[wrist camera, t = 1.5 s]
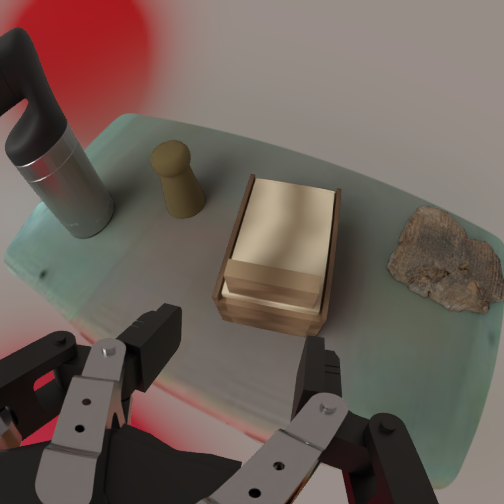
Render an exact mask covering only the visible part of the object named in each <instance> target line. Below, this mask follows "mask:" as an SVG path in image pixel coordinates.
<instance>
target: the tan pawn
mask: <svg viewBox="0 0 504 504" xmlns="http://www.w3.org/2000/svg"><path fill="white" fill-rule="evenodd" d="M190 159H191V155H190V151H189V149H188V147H187V146H186V145H185V144H183V143H182V142H180V141H177V140H171V141H166V142H164V143H162V144H160V145H158V146H157V147H156V148H155V149H154V151H153V153H152V155H151V165H152V168H153V170H154V171H155V172H156V173H157V174H158V175H159V176H160V179H161V184H162V188H163V193H164V198H165V202H166V206H167V210H168V212H169V213H170V214H171V215H172V216H173V217H176V218H181V219H184V218H190V217H192V216H194V215H196V214H197V213H199V212H200V211H201V209H202V208H203V207H204V204H205V196H204V194H203V192H202V190H201V188H200V186H199V184H198V182H197V180H196V178H195V175H194V173H193V171H192V169H191V167H190V165H189V164H190Z"/></svg>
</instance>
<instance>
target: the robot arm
mask: <svg viewBox="0 0 504 504" xmlns="http://www.w3.org/2000/svg"><path fill="white" fill-rule="evenodd" d="M25 98H26V99H27V100H28V102H29V103H28V105H27V108H26V110H25V112H24V113H23V115H22V116H21V118H20V119H19V121H18V122H17V124H16V125H15V126H14V128H13V129H12V130H11V132H10V134H9V136H8V138H7V140H6V143H5V151H6V154H7V156H8V157H9V159H10V160H11V162H12V163H13V164H14V166H15V167H16V168H17V170H18V171H19V172H20V174H21V175H22V176H23V177H24V179H25V180H26V181H27V182H28V184H29V185H30V186H31V187H32V189H33V190H34V191H35V192H36V194H37V195H38V196H39V197H40V199H41V200H42V201H43V202H44V203H45V205H46V206H47V207H48V208H49V209H50V211H51V212H52V213H53V214H54V215H55V216H56V217H57V219H58V220H59V221H60V222H61V223H62V224H63V226H64V227H65V228H66V229H67V230H68V231H69V232H70V233H71V234H72V235H73V236H74V237H76V238H88V237H91V236H93V235H95V234H96V233H98V232H99V231H101V230H102V229H103V228H104V227H105V226H106V224H107V223H108V222H109V220H110V219H111V216H112V214H113V210H114V202H113V199H112V198H111V196H110V195H109V193H108V191H107V190H106V188H105V186H104V185H103V183H102V181H101V180H100V178H99V176H98V174H97V173H96V171H95V169H94V168H93V166H92V164H91V163H90V161H89V159H88V157H87V156H86V154H85V152H84V150H83V149H82V147H81V145H80V143H79V141H78V140H77V138H76V136H75V134H74V132H73V131H72V129H71V127H70V125H69V123H68V122H67V119H66V117H65V116H64V114H63V112H62V110H61V108H60V106H59V105H58V103H57V101H56V99H55V97H54V95H53V92H52V90H51V88H50V86H49V84H48V81H47V79H46V76H45V74H44V71H43V68H42V66H41V63H40V60H39V57H38V54H37V52H36V49H35V47H34V44H33V42H32V40H31V38H30V36H29V35H28V33H27V32H26V31H25V30H24V29H22V28H19V27H17V28H14V29H12V30H10V31H9V32H7V33H5V34H4V35H2V36H1V37H0V116H2V115H3V114H4V113H5V112H7V111H8V110H9V109H11V108H12V107H13V106H15V105H16V104H17V103H19V102H20V101H22V100H23V99H25ZM181 326H182V309H181V307H178V306H174V305H170V304H166V303H164V304H163V305H162V306H161V307H160V308H159V309H158V310H157V311H156V312H155V311H150V312H147V313H145V314H143V315H141V316H140V317H139V318H138V319H137V320H136V321H135V322H134V323H133V324H132V325H131V326H129V327H128V328H127V329H126V330H125V331H124V332H123V333H121V334H120V335H119V336H118V337H117V338H116V339H112V338H106V339H101V340H99V341H97V342H95V343H94V344H93V346H92V347H90V346H84V345H77V344H76V339H75V336H74V335H73V334H72V333H70V332H67V331H56V332H53V333H50V334H48V335H47V336H45V337H43V338H41V339H39V340H37V341H35V342H33V343H31V344H29V345H27V346H26V347H24V348H22V349H20V350H18V351H16V352H14V353H12V354H11V355H9V356H7V357H5V358H3V359H1V360H0V504H292V503H293V502H294V500H295V499H296V498H297V496H298V495H299V493H300V492H301V491H302V489H303V488H304V486H305V485H306V484H307V482H308V481H309V479H310V478H311V477H312V475H313V474H314V472H315V471H316V469H317V468H318V467H319V465H320V464H321V462H322V463H325V464H327V465H330V466H333V467H335V468H338V469H341V470H342V474H343V479H344V483H345V488H346V493H347V498H348V502H349V504H439V503H438V501H437V499H436V496H435V493H434V491H433V488H432V486H431V483H430V481H429V479H428V476H427V474H426V472H425V469H424V467H423V464H422V462H421V460H420V458H419V455H418V453H417V451H416V448H415V446H414V444H413V442H412V440H411V437H410V435H409V433H408V431H407V429H406V426H405V424H404V423H403V421H402V420H401V419H400V418H398V417H397V416H395V415H392V414H389V413H378V414H376V415H374V416H372V417H371V419H370V420H369V419H366V418H363V417H360V416H358V415H355V414H353V413H352V412H350V411H349V410H348V406H347V403H346V402H345V401H344V400H343V399H342V389H341V375H340V361H339V358H338V356H337V355H336V353H335V352H334V351H330V350H325V344H324V338H322V337H316V336H311V335H307V337H306V341H305V345H304V349H303V352H302V356H301V360H300V364H299V368H298V372H297V378H296V386H295V393H294V401H293V408H292V415H291V421H290V424H289V425H288V426H287V427H286V428H285V429H284V430H282V429H279V430H277V431H276V432H275V433H274V434H273V435H272V436H271V437H270V438H269V440H268V441H267V442H266V443H265V444H264V445H263V446H262V447H261V448H260V449H259V450H258V451H257V452H256V453H255V454H254V455H253V456H252V457H251V458H250V459H249V460H248V461H247V462H246V463H245V464H244V465H243V466H242V467H241V465H242V462H240V461H236V460H232V459H227V458H224V457H220V456H216V455H213V454H205V453H194V452H186V451H179V450H175V449H173V448H172V447H170V446H169V445H167V444H165V443H163V442H162V441H160V440H159V439H157V438H156V437H154V436H153V435H151V434H150V433H147V432H144V431H142V430H139V429H137V428H135V427H132V426H130V418H131V409H132V401H133V397H132V393H133V392H134V390H135V389H136V390H139V391H141V392H144V393H145V392H146V390H147V389H148V388H149V386H150V385H151V384H152V382H153V381H154V380H155V378H156V377H157V376H158V374H159V373H160V372H161V370H162V369H163V368H164V366H165V365H166V364H167V362H168V361H169V360H170V358H171V357H172V356H173V354H174V353H175V352H176V350H177V349H178V347H179V345H180V341H181ZM52 370H53V374H54V377H55V379H53V380H52V381H50V382H49V383H47V384H45V385H44V386H42V387H41V388H39V389H37V390H36V391H34V388H33V386H34V383H35V381H36V380H37V379H38V378H40V377H42V376H43V375H45V374H46V373H48V372H50V371H52ZM59 414H60V415H59ZM58 415H59V418H58V422H57V425H56V428H55V432H54V435H53V438H52V440H50V441H45V442H40V443H36V444H31V445H26V446H21V447H19V446H20V445H21V442H22V441H23V440H24V439H26V438H27V437H28V436H30V435H31V434H33V433H34V432H35V431H37V430H38V429H40V428H41V427H42V426H44V425H45V424H47V423H48V422H49V421H51V420H52V419H53V418H55V417H56V416H58Z"/></svg>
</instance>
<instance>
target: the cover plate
mask: <svg viewBox="0 0 504 504" xmlns="http://www.w3.org/2000/svg"><path fill="white" fill-rule="evenodd" d="M334 192H335V191H331V190H325V189H320V188H314V187H309V186H303V185H297V184H291V183H285V182H279V181H272V180H265V179H259V178H256V181H255V184H254V187H253V190H252V194H251V197H250V200H249V203H248V207H247V210H246V213H245V216H244V220H243V223H242V226H241V229H240V233H239V236H238V239H237V243H236V246H235V249H234V253H233V256H232V259H228V262H227V266H226V269H225V272H224V278H225V283H224V286H223V290H222V295H223V297H227V298H232V299H236V300H241V301H246V302H250V303H255V304H260V305H265V306H270V307H275V308H280V309H285V310H291V311H296V312H301V313H307V314H312V315H318V314H319V310H320V304H321V297H322V291H323V284H324V277H325V270H326V263H327V255H328V247H329V239H330V231H331V222H332V212H333V202H334Z"/></svg>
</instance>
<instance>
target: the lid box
mask: <svg viewBox="0 0 504 504" xmlns="http://www.w3.org/2000/svg"><path fill="white" fill-rule="evenodd" d="M255 181H256V180H255V174H251V175H250V178H249V181H248V184H247V187H246V191H245V194H244V197H243V200H242V203H241V206H240V209H239V212H238V215H237V218H236V221H235V225H234V228H233V231H232V234H231V237H230V240H229V244H228V247H227V250H226V253H225V256H224V260H223V263H222V266H221V269H220V272H219V276H218V279H217V282H216V286H215V289H214V292H213V295H212V298H213V300H214V302H215V304H216V306H217V308H218V310H219V313H220V315H221V317H222V319H223V320H225V321H229V322H234V323H238V324H243V325H247V326H252V327H257V328H261V329H266V330H271V331H276V332H281V333H286V334H291V335H297V336H302V337H307V335H311V336H316V335H317V334H318V332H319V331H320V329H321V327H322V326H323V324H324V323H325V321H326V319H327V313H328V306H329V299H330V292H331V285H332V277H333V269H334V261H335V253H336V243H337V234H338V223H339V212H340V200H341V189H339V188H337V191H336V193H334V202H333V212H332V222H331V231H330V239H329V247H328V255H327V263H326V270H325V277H324V284H323V291H322V297H321V304H320V310H319V314H318V315H312V314H307V313H301V312H296V311H291V310H285V309H280V308H275V307H270V306H265V305H260V304H255V303H250V302H246V301H241V300H236V299H232V298H227V297H223V295H222V290H223V286H224V283H225V278H224V272H225V269H226V266H227V262H228V259H232V256H233V253H234V249H235V246H236V243H237V239H238V236H239V233H240V229H241V226H242V223H243V220H244V216H245V213H246V210H247V207H248V203H249V200H250V197H251V194H252V190H253V187H254V184H255Z"/></svg>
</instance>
